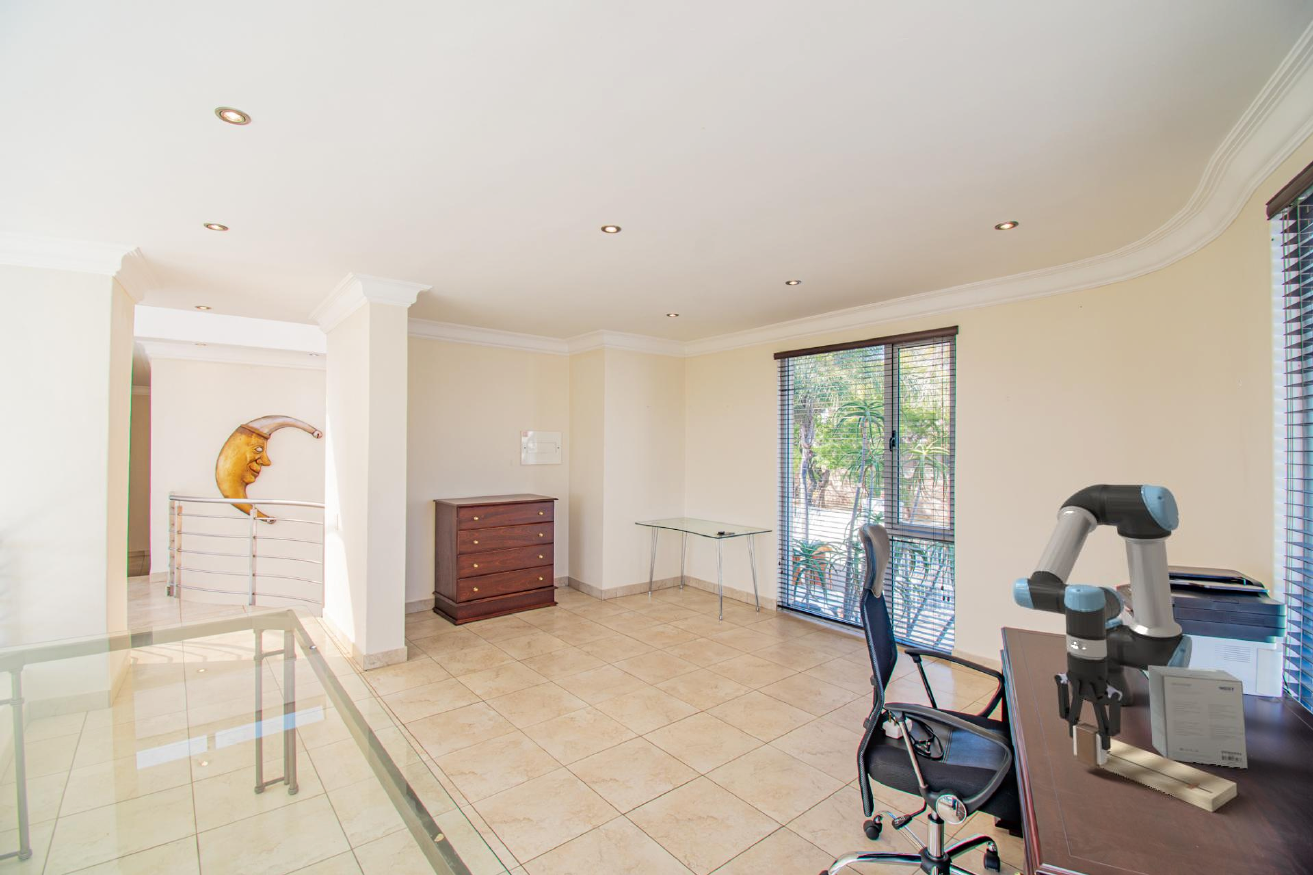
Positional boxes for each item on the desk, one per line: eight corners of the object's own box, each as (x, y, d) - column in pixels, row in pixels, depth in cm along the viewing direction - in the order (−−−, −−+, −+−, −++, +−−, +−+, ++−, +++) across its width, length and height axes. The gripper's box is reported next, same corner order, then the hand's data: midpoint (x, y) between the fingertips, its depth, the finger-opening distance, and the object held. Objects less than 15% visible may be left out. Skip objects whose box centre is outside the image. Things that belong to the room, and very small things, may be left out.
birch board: (1080, 759, 141) (1080, 748, 141) (1106, 747, 147) (1106, 736, 147) (1212, 812, 120) (1211, 798, 120) (1236, 795, 126) (1236, 782, 126)
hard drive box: (1229, 754, 142) (1225, 670, 143) (1249, 770, 135) (1245, 681, 136) (1150, 745, 148) (1147, 663, 148) (1165, 760, 140) (1162, 674, 141)
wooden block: (1095, 769, 133) (1094, 732, 133) (1076, 761, 136) (1074, 725, 137) (1104, 764, 135) (1103, 728, 135) (1085, 756, 138) (1084, 721, 139)
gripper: (1038, 647, 142) (1041, 746, 141) (1121, 668, 127) (1125, 780, 126) (1056, 641, 146) (1059, 738, 145) (1138, 662, 131) (1143, 771, 130)
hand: (1090, 758), depth 136 cm, fingers closed on wooden block, 4 cm apart
